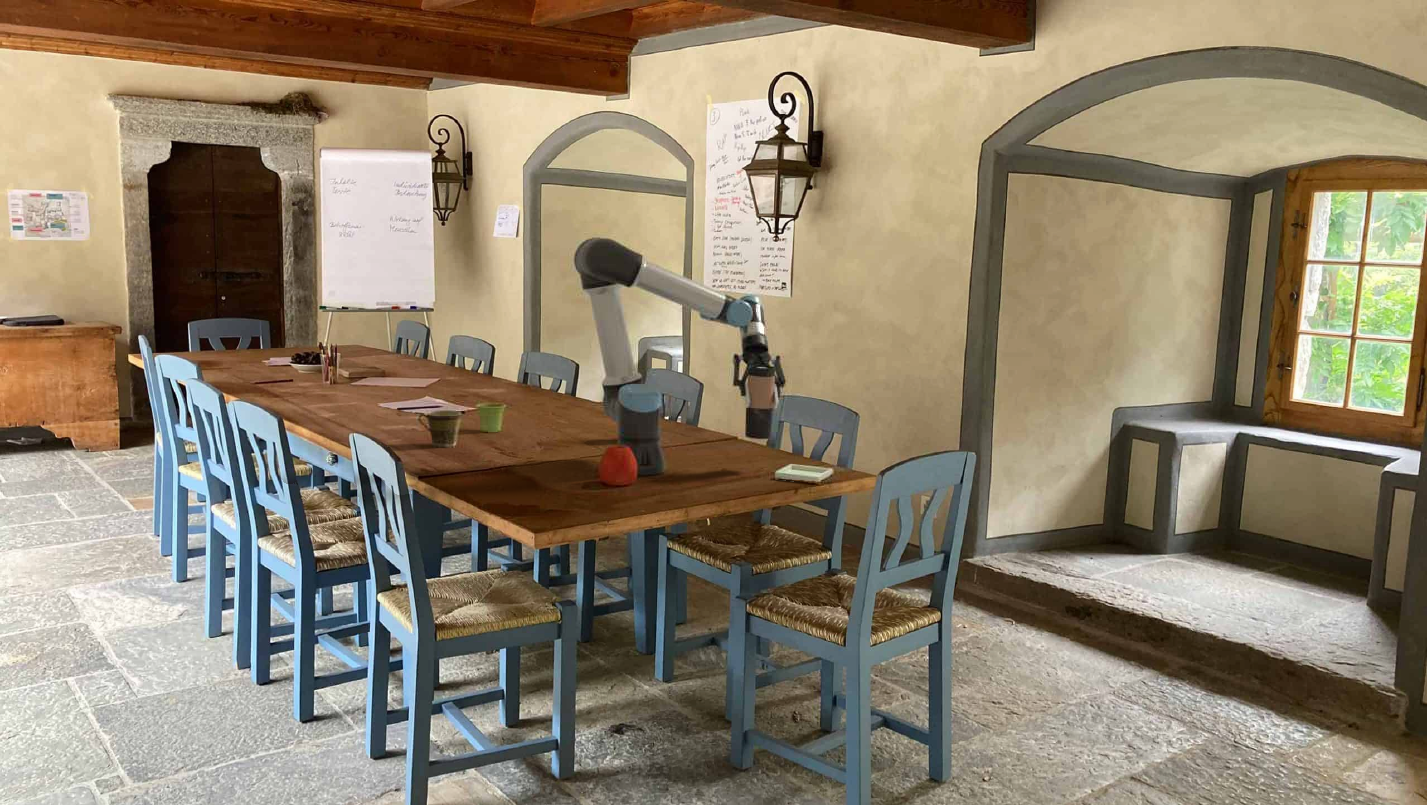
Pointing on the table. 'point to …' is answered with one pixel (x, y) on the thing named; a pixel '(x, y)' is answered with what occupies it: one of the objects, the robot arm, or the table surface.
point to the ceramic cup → (443, 427)
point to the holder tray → (803, 473)
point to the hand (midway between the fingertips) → (762, 405)
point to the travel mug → (760, 401)
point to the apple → (618, 466)
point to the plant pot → (491, 416)
